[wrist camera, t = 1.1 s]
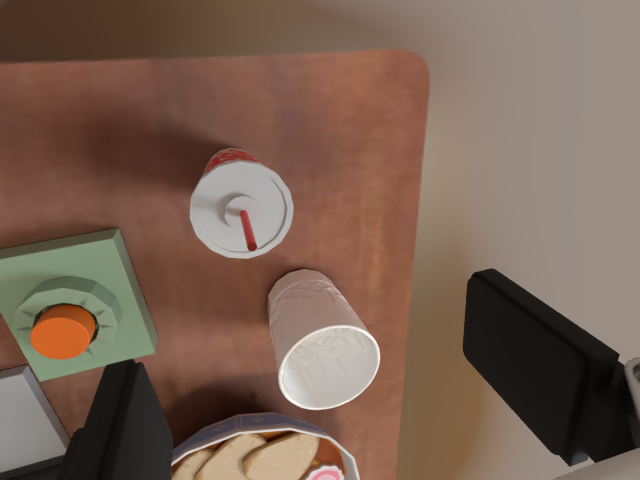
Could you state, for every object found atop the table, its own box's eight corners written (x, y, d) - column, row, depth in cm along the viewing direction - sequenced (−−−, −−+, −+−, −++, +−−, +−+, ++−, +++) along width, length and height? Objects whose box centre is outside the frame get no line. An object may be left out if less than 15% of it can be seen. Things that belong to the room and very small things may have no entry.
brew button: (30, 310, 27) (19, 325, 25) (85, 298, 27) (78, 312, 26) (51, 349, 28) (42, 365, 27) (102, 337, 29) (96, 352, 27)
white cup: (247, 285, 34) (260, 357, 26) (324, 249, 35) (364, 307, 26) (279, 344, 38) (301, 425, 29) (349, 311, 39) (391, 380, 30)
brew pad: (-12, 250, 28) (-44, 276, 24) (118, 227, 29) (106, 248, 26) (49, 363, 32) (30, 399, 29) (158, 337, 34) (152, 367, 31)
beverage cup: (283, 192, 32) (331, 267, 20) (218, 224, 32) (225, 321, 19) (251, 124, 29) (283, 161, 17) (178, 158, 29) (156, 222, 16)
